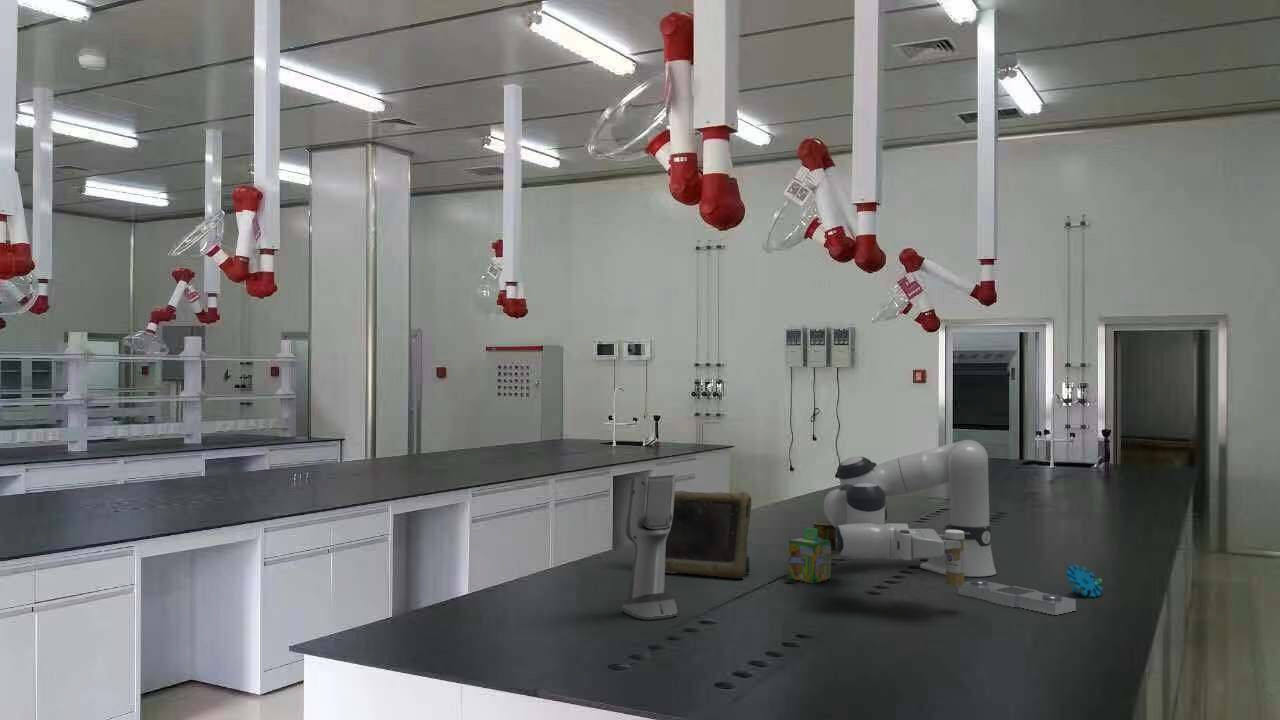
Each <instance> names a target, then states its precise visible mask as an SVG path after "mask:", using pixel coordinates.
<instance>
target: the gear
mask: <svg viewBox="0 0 1280 720" xmlns="http://www.w3.org/2000/svg"><path fill="white" fill-rule="evenodd" d="M1079 569H1080V570H1079ZM1086 571H1087V567H1085V566H1082V567H1081V568H1080V566H1079V565H1078V564H1074V565H1073V566H1072V565H1071V566H1068V567H1067V571H1066V572H1065V575H1066V576H1067V577H1069V578H1067V581H1068V583H1069V584H1074V585H1073V588H1072V589H1071V593H1072V592H1076V593H1077V592H1078V591H1079V590H1082V591H1081V592H1080V594H1081V595H1083V596H1084V597H1086V596H1087V595H1088V597H1090V598H1091V597H1094V598H1096V596H1098V597H1100V596H1101V595H1102V593H1101V591H1103V586H1100V584H1101V583H1102V582H1103V580H1102V578H1097V579H1096V578H1094V577H1095V574H1094V573H1093V572H1092V571H1090V572H1089V573H1086ZM1087 591H1089V592H1087ZM1088 593H1089V594H1088Z"/></svg>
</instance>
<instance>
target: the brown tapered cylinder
mask: <svg viewBox="0 0 1280 720" xmlns="http://www.w3.org/2000/svg"><path fill="white" fill-rule="evenodd" d="M812 524H813V525H812V526H813V528H816V529H818V538H821V539H827V540H830V541H831V553H837V550H836V546H835V530H836V528H835V527H834V526H833V525H832V524H831V523H830V521H829V520H828V519H827V520H826V519H825V520H816V521H813V522H812ZM837 554H838V553H837Z"/></svg>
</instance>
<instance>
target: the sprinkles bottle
mask: <svg viewBox="0 0 1280 720" xmlns="http://www.w3.org/2000/svg"><path fill="white" fill-rule="evenodd" d="M944 535H945V538H946V540H959V541H960V542H961V547H960V548H952V549H947V550H946V575H945V577H946V579H945V584H946V585H947V586H951V587H958V586H963V585H965V582H966V581H965V576H964V531H961V530H944Z"/></svg>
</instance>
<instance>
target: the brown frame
mask: <svg viewBox="0 0 1280 720" xmlns="http://www.w3.org/2000/svg"><path fill="white" fill-rule="evenodd" d="M751 511H752V497H751V496H750V494H749V493H748V492H747V491H745V490H744V491H740V492H722V491H717V492H700V491H698V492H697V491H696V492H695V491H685V490H675V497H674V511H673V519H672V525H671V529H670V532H669V534H668V536H667V540H666V552H665V571H669V572H677V573H676V574H684V573H687V574H688V575H697V574H698V575H699V576H704V575H710V576H719V577H718V578H728V577H729V578H730V579H733V578H742V579H743V577H745V578H746V574H747V573H749V572H750V557H749V556H747V555H748V534H749V526H750V521H751ZM746 572H747V573H746ZM698 575H697V576H698ZM710 576H709V577H710Z"/></svg>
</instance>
